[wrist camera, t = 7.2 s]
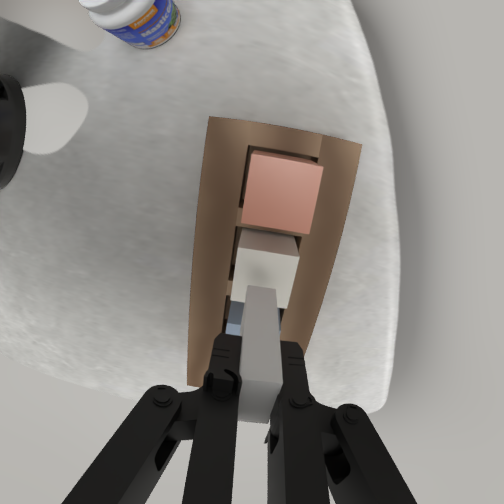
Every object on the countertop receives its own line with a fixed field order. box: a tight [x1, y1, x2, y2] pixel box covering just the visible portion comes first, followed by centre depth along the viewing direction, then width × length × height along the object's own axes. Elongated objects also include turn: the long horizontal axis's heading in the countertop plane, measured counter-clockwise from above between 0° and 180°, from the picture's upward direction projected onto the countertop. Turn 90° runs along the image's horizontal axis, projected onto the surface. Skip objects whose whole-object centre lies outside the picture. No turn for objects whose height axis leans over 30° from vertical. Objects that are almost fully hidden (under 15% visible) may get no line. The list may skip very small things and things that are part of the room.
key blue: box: [226, 301, 281, 336], centre depth 24 cm, size 4×4×5 cm
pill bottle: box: [79, 0, 180, 49], centre depth 14 cm, size 5×5×10 cm
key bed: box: [187, 116, 362, 387], centre depth 26 cm, size 11×26×4 cm, turn 171°
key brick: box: [241, 150, 323, 234], centre depth 18 cm, size 4×4×5 cm
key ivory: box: [230, 227, 300, 309], centre depth 22 cm, size 4×4×5 cm
